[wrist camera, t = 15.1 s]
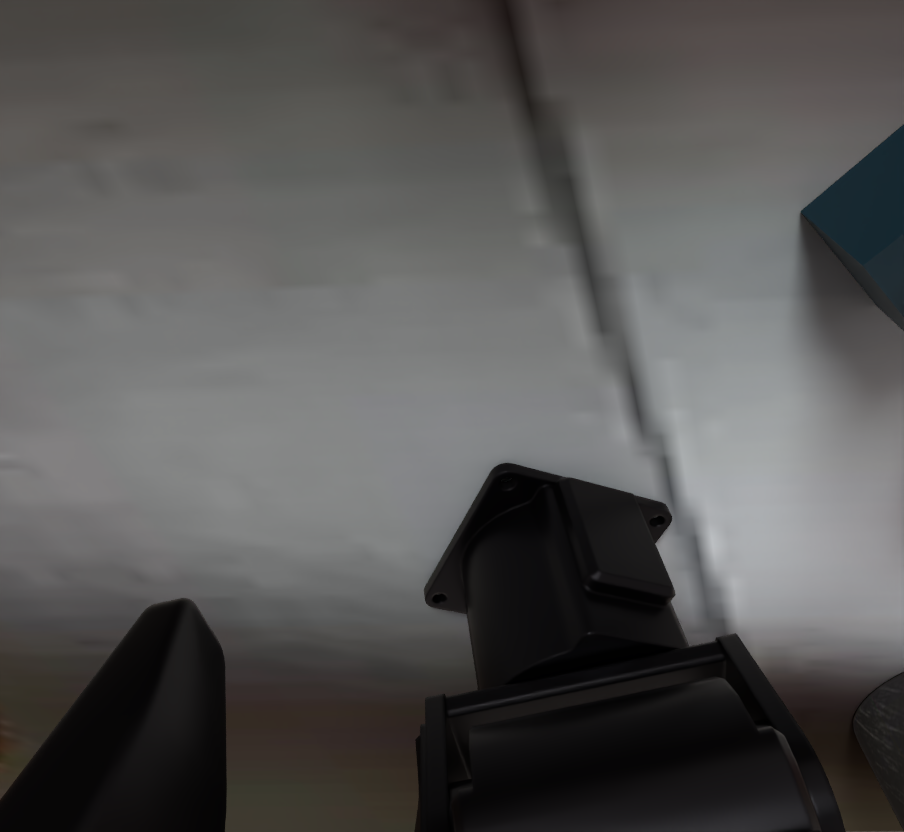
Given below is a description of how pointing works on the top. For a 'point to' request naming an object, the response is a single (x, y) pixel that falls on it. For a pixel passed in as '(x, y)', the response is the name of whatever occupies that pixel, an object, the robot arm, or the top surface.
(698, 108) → the top surface
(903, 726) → the travel mug
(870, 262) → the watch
